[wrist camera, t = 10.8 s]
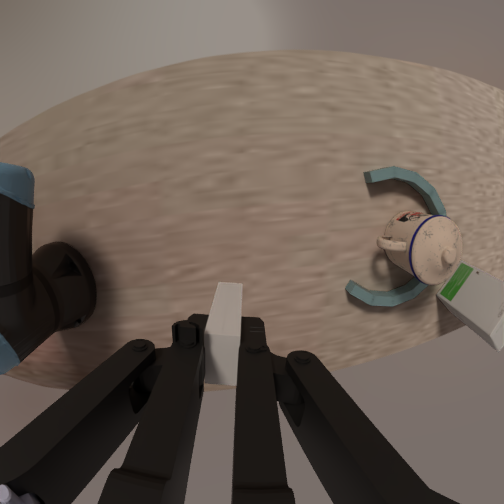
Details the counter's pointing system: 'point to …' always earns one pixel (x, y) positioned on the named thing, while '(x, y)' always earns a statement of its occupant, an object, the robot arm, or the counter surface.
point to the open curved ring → (435, 208)
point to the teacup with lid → (423, 245)
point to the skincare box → (476, 302)
